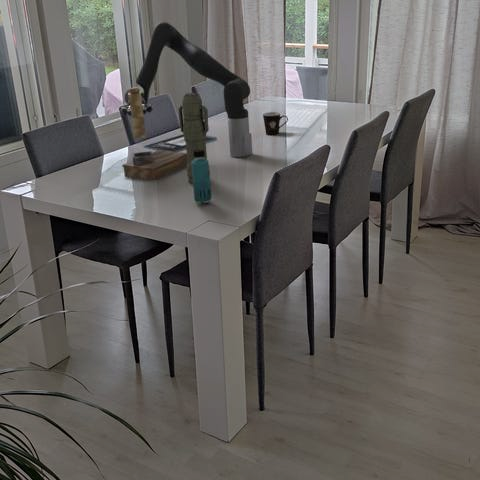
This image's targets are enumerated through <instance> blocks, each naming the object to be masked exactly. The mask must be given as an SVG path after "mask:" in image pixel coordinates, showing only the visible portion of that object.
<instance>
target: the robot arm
mask: <svg viewBox="0 0 480 480" xmlns="http://www.w3.org/2000/svg"><path fill="white" fill-rule="evenodd" d="M164 47H166V48H168V49H170V50H171V51H173V52H176V53H177V55H179V56H180V57H181V58H182V59H183V60H184V62H185V63H186V64H188V66H189V67H191V69H193V71H195V72H196V73H197V74H199V75H201V76H202V77H204V78H207V79H209V80H211V81H214V82H217V83H219V84H220V85H222V86H223V101H224V109H225V112H226V114H227V115H226V116H227V126H228V127H227V128H228V129H227V130H228V139H229V140H228V141H229V155H230V156H231V157H233V158H246V157H249V156H251V155H253V145H252V144H253V141H252V139H253V138H252V133H251V132H250V123H249V121H250V120H249V119H250V118H249V111H248V109H247V108H245V106H244V100H245V99H247V98H248V97H249V96H250V93H251V88H250V84H248V82H247V81H246V80H245V79H243V78H242V77H240V76H238V75H237V74H236V73H233V72H232V71H230V70H229V69H228V68H226V67H225V66H224V65H222V63H220V62H219V61H218V60H217V59H215V58H214V57H213V56H212V55H210V54H209V53H208V52H206V50H204V49H202V48H201V47H200V46H198V45H196V44H194V43H192V42H191V41H190V40H188V39H187V38H186V37H184V36H183V34H182V33H180V31H178V29H177V28H176V27H174V26H173V25H172V24H171V23H169V22H167V21H160V22H159V23H157V24H156V25H155V27H154V29H153V32H152V36H151V39H150V43H149V46H148V50H147V54H146V56H145V58H144V61H143V63H142V66H141V69H140V71H139V72H138V75H137V77H136V81H135V83H136V85H138V86H139V87H140V88H142V89H143V92H142V91H140V90H139V92H141V98H142V106H143V115H144V116H145V115H146V114H147V113H151V112H152V111H153V110H154V104H153V103H149V104H148V102H149V95H150V90H151V86H152V84H153V82H154V79H155V77H156V76H157V72H158V68H159V62H160V57H161V55H162V52H163V49H164ZM128 93H130V92H129V89H127V90H126V92H125V94H124V102H125V103H126V105H127V106H126V107H125V106H119V107H120V113H121V114H122V115H124V116H126V115H128V116H129V117H131V110H130V103H129V95H128Z"/></svg>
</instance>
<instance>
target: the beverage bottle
mask: <svg viewBox="0 0 480 480" xmlns="http://www.w3.org/2000/svg"><path fill="white" fill-rule="evenodd" d="M193 156H194V157H203V156H205V152H204V150H203V149H196V150H194V151H193ZM191 165H192V175H193V184H192V185H193V186H192V187H193V198H194V201H195V202H196V203H197V202H198V203H206V202H209V201H211V200H212V197H213V196H212V195H213V194H212V187H211V178H210V177H211V176H210V175H209V174H211V173H210V164H209V160H208V159H207V160H206V159H205V158H196V159H194V160H193V161H192V162H191Z"/></svg>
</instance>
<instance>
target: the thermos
mask: <svg viewBox="0 0 480 480" xmlns="http://www.w3.org/2000/svg"><path fill="white" fill-rule="evenodd" d="M182 97H183V98H182V101H181V102H182V103H181V105H180V106H179V107H178V119H179V128H180V131H181V133H182V134H184V140H185V142H186V149H185V150H186V153H187V161H188V164H187V165H186V172H187V173H186V175H187V177H188V178H187V179H188V181H187V182H188V184H190V185H193V175H192V165H191V162H192V161H193V160H194V159H196V158H205V159H206V160H208V153H207V143H206V135H207V133H208V132H209V131H210V130H209V129H210V128H209V115H208V114H209V113H208V108H207V107H206V105H205V106H204V105H203V100H202V98H201V95H200V94H199V93H197V92H188V93H187V92H186V93H185V94H183V96H182ZM196 149H203V150H204V152H205V156H203V157H194V156H193V151H194V150H196ZM210 174H211V173H210ZM210 174H209V175H210Z"/></svg>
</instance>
